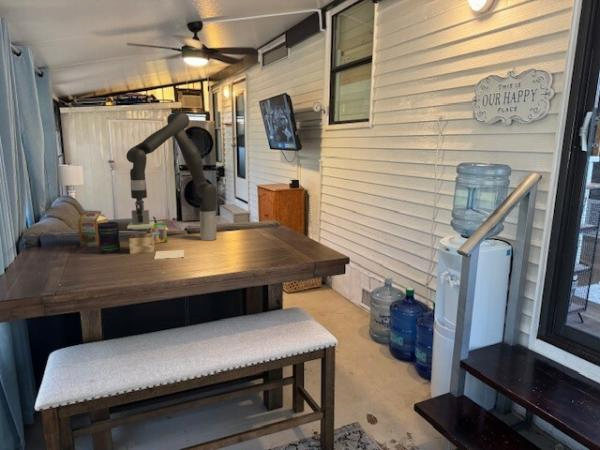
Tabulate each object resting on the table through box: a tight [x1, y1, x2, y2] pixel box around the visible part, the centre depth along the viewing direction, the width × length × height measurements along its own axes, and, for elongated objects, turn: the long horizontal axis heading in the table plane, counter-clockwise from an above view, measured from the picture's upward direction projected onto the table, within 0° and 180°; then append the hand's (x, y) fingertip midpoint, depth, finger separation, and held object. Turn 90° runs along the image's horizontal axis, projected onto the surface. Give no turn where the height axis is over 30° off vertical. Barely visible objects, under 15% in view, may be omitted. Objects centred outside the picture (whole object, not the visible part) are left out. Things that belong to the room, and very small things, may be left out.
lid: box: [127, 209, 154, 231], centre depth 208 cm, size 12×12×9 cm
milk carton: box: [77, 209, 109, 248], centre depth 222 cm, size 11×11×19 cm
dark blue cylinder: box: [97, 221, 121, 255], centre depth 207 cm, size 10×10×15 cm
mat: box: [153, 249, 185, 260], centre depth 204 cm, size 14×14×1 cm
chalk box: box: [146, 216, 168, 244], centre depth 231 cm, size 9×9×15 cm
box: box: [128, 233, 155, 255], centre depth 210 cm, size 11×11×8 cm
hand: (141, 221), depth 208 cm, fingers closed on lid, 3 cm apart
